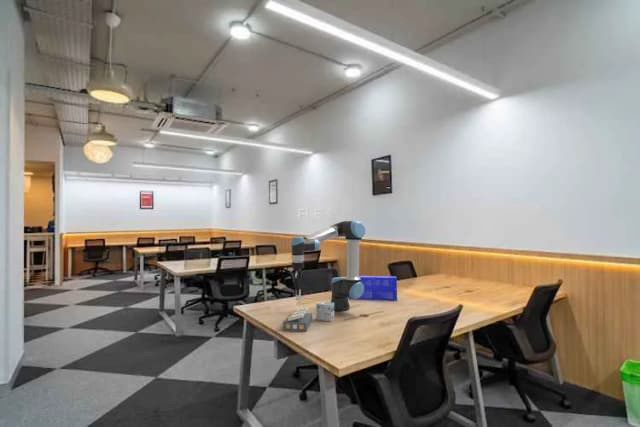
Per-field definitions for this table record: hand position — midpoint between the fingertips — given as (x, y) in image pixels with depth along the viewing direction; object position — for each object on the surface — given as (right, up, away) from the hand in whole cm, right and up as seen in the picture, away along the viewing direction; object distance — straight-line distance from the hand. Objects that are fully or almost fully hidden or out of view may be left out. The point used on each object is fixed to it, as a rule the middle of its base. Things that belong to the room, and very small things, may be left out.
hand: (298, 299), depth 203 cm
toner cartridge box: (+58, -18, +70) cm, 92 cm away
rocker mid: (0, -9, 0) cm, 9 cm away
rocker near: (-1, -8, -7) cm, 11 cm away
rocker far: (+1, -9, +6) cm, 11 cm away
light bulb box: (+17, -17, +13) cm, 27 cm away
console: (0, -16, 0) cm, 16 cm away
